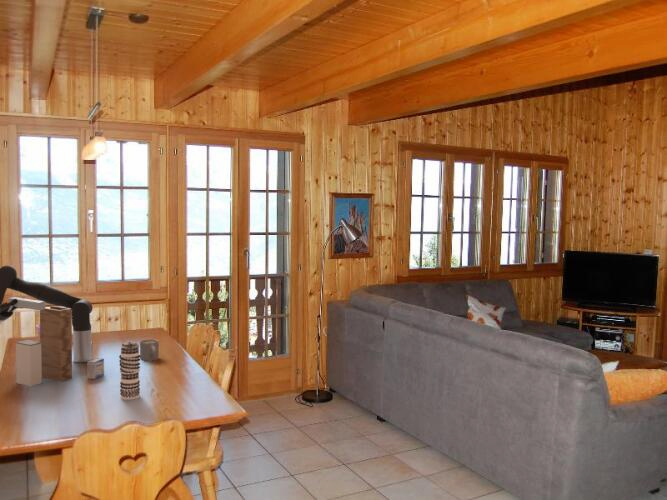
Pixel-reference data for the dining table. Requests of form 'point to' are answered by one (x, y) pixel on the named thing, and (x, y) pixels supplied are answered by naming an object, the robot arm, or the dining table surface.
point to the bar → (28, 303)
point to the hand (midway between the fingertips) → (20, 299)
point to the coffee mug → (149, 349)
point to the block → (28, 362)
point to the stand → (56, 343)
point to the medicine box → (95, 368)
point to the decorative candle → (129, 370)
